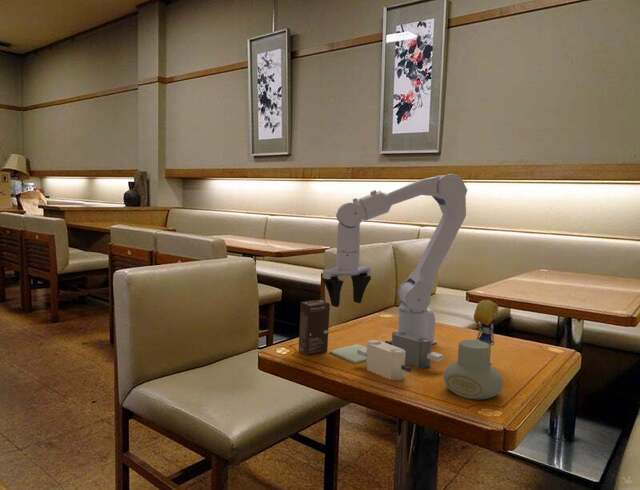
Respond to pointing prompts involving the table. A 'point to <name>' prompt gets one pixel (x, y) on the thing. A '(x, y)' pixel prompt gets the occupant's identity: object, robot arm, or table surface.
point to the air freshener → (473, 372)
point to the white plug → (385, 359)
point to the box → (314, 326)
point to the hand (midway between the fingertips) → (346, 304)
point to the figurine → (485, 320)
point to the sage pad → (350, 353)
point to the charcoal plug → (415, 349)
